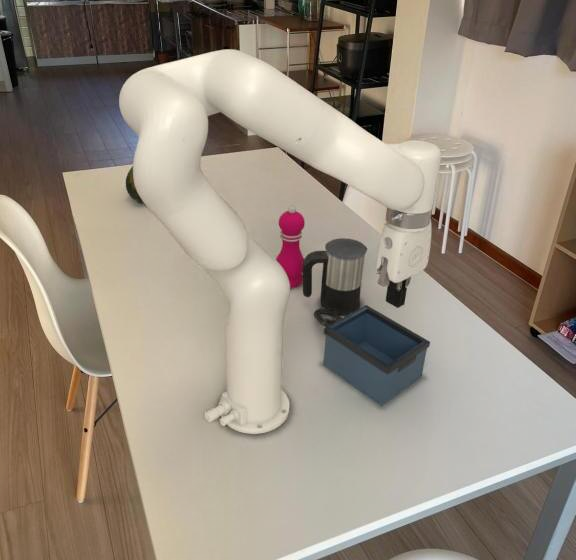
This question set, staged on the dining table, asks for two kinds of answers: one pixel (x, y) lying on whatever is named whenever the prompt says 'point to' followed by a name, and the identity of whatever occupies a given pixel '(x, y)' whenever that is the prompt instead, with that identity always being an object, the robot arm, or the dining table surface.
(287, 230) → the pepper mill
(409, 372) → the blue storage bin
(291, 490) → the dining table surface
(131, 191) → the squash
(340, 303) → the milk frother
